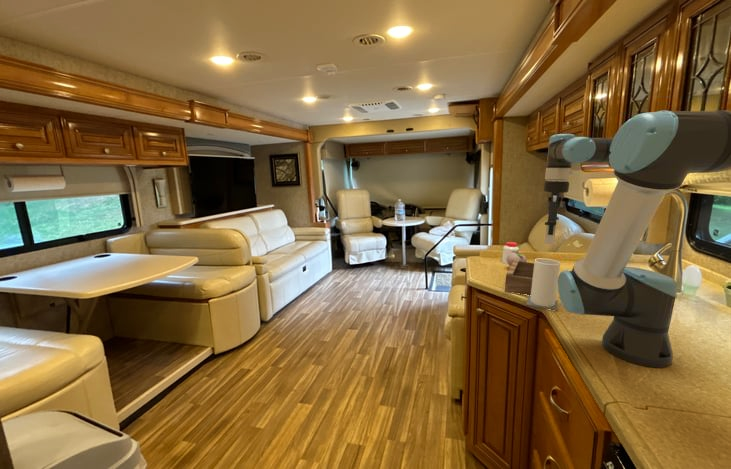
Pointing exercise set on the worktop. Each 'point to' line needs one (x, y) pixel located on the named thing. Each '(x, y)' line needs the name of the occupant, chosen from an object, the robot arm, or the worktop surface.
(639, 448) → the worktop surface
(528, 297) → the panel
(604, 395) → the worktop surface
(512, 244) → the pill bottle
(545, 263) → the cup
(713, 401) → the worktop surface
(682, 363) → the worktop surface
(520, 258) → the decorative fruit
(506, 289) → the crate
